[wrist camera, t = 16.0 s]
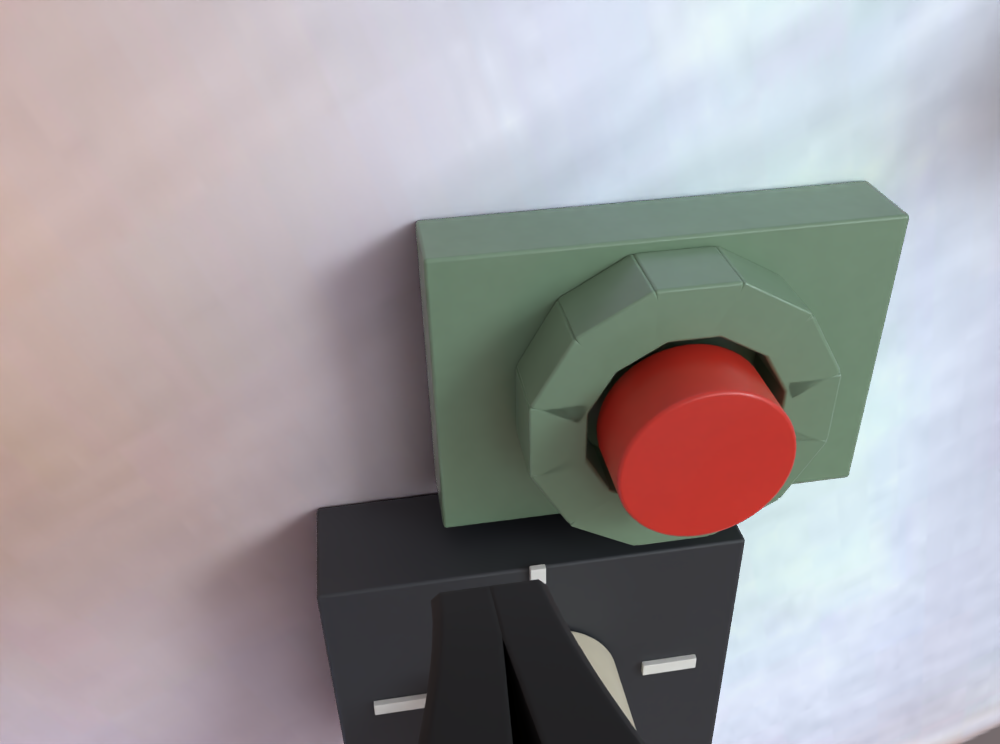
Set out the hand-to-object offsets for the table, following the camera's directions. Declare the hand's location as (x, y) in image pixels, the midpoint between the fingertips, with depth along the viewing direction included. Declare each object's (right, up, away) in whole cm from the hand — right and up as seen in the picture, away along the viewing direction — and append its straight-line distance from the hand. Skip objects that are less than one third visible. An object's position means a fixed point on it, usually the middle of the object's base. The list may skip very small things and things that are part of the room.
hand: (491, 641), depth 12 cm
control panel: (+1, -3, +15) cm, 15 cm away
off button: (+4, +2, +8) cm, 9 cm away
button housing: (+3, +4, +10) cm, 12 cm away
